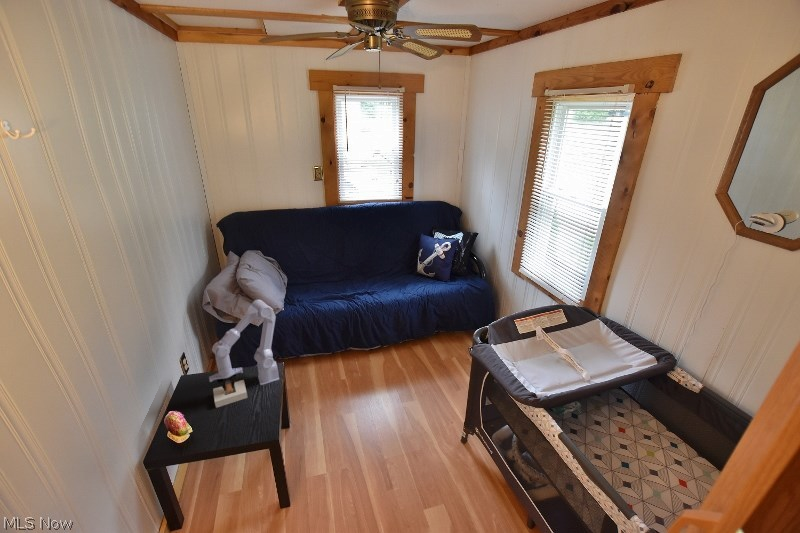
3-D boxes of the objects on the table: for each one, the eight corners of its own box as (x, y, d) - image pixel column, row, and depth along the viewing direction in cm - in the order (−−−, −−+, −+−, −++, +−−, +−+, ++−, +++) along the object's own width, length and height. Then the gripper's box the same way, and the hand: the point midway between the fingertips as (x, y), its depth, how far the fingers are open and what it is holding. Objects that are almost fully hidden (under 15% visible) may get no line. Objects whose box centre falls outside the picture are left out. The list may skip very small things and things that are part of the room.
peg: (234, 390, 181) (231, 376, 177) (233, 395, 178) (230, 380, 174) (227, 391, 180) (224, 377, 176) (226, 396, 177) (222, 381, 173)
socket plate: (244, 385, 187) (243, 379, 185) (247, 397, 179) (246, 392, 177) (214, 394, 180) (213, 388, 179) (216, 407, 172) (214, 402, 171)
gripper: (239, 356, 179) (244, 378, 184) (206, 365, 172) (212, 388, 177) (241, 364, 173) (246, 387, 178) (207, 374, 166) (213, 397, 172)
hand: (229, 388), depth 177 cm, fingers closed on peg, 3 cm apart
